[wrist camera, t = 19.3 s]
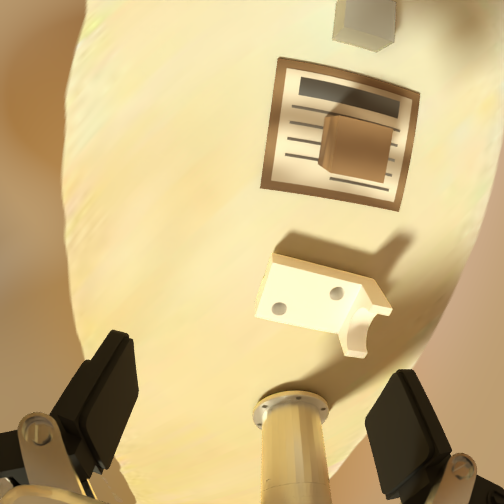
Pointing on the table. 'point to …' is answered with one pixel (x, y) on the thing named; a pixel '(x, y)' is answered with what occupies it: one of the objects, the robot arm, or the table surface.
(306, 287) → the bracket
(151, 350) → the table surface
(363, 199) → the brown white flat panel
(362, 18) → the block
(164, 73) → the table surface
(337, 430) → the table surface
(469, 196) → the table surface
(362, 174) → the walnut block
